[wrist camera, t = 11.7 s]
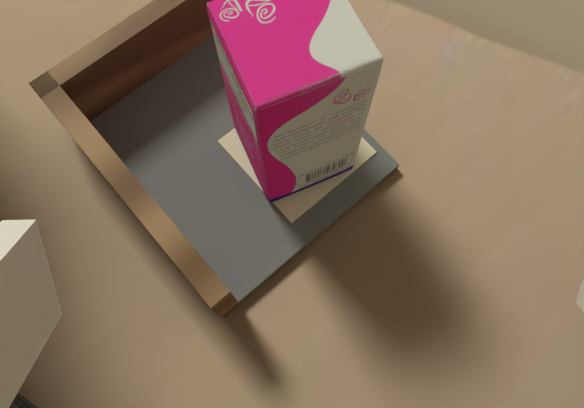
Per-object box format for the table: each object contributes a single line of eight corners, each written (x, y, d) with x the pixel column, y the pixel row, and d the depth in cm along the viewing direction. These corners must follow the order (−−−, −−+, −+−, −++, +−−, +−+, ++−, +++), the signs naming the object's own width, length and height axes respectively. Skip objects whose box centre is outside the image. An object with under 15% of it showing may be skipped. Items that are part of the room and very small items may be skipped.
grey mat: (66, 124, 32) (61, 119, 32) (235, 6, 35) (235, -1, 35) (222, 317, 29) (221, 316, 28) (397, 168, 32) (399, 164, 31)
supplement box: (314, 91, 33) (329, -47, 22) (354, 170, 31) (392, 64, 20) (230, 123, 32) (202, -3, 21) (267, 206, 30) (257, 115, 19)
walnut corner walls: (66, 124, 32) (28, 83, 28) (235, 6, 35) (228, -50, 31) (222, 317, 29) (210, 307, 24) (397, 168, 32) (416, 133, 27)
